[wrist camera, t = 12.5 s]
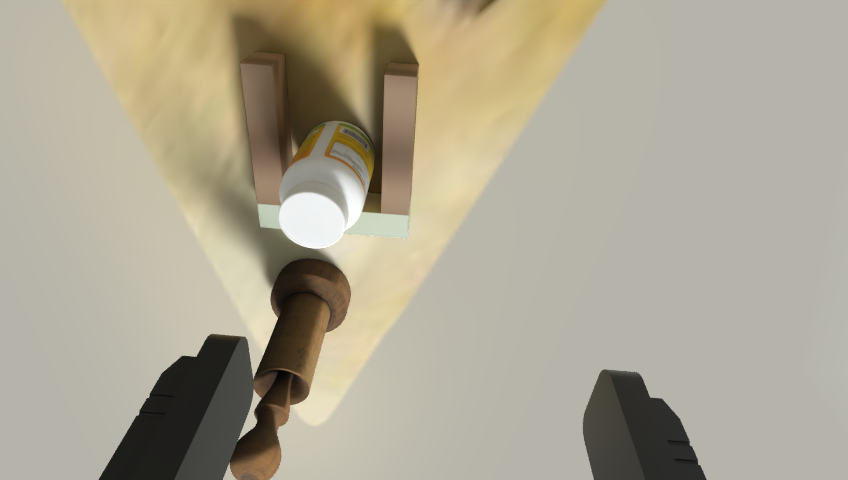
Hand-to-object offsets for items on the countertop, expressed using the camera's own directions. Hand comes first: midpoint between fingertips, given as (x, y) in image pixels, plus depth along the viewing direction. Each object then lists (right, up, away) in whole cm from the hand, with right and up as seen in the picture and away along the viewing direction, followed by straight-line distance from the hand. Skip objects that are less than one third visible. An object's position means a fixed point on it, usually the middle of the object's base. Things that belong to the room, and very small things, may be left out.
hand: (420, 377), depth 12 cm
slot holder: (-6, +11, +26) cm, 29 cm away
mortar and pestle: (-10, -1, +34) cm, 35 cm away
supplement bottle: (-6, +10, +27) cm, 29 cm away
